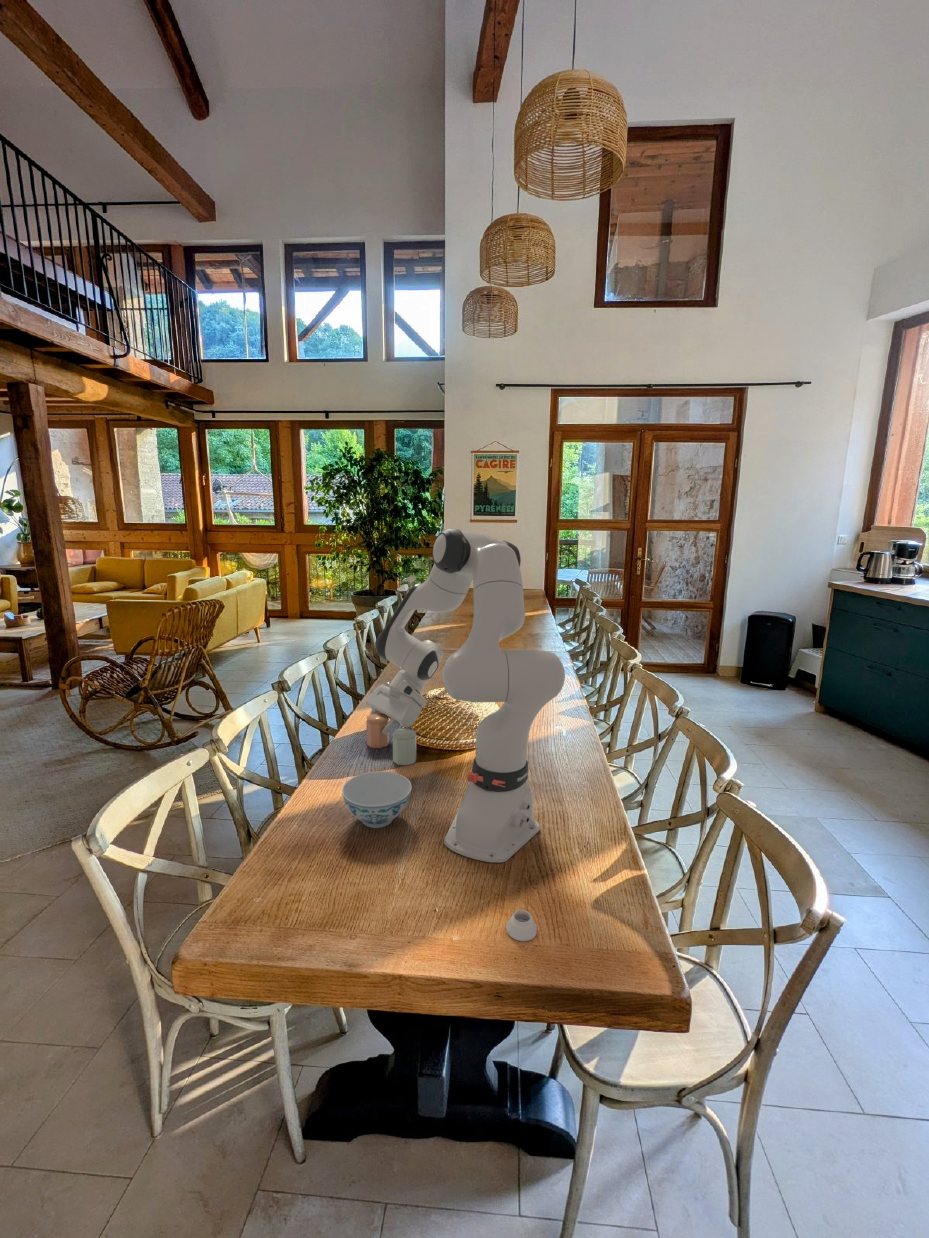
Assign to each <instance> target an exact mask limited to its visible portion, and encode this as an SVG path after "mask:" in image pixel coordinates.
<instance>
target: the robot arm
mask: <svg viewBox="0 0 929 1238" xmlns="http://www.w3.org/2000/svg"><path fill="white" fill-rule="evenodd" d="M521 559H522V558H521V554H520V550H519V548H518V547H517V546H516V545H515V544H513V543H511V542H509V541H507V540H501V539H498V538H495V537H493V536H490V535H486V534H483V533H480V532H474V531H467V530H460V528H459V529H458V528H446V529H443V530H442V531H441V532H440V533H439V534H438V535H437V537H436V538H435V540H434V543H433V547H432V561H433V566H432V567H431V569H430V571H429V574H428V577H427V579H426V580H425V581H424V582H423V583H419V582H418V583H416V584H414V585H413V586H412V587H411V588H410V589H409V591H408V592H407V593H406V594H405V595H404V598H403V599H402V600H401V601H400V603H399V605H398V606H397V608H396V609H395V611H394V613H393V615H392V616H391V618H390V619H389V621H388V622H387V624H386V625H385V627H384V628H383V629H382V631H381V632H380V633H379V634H378V636H377V638H376V640H375V642H374V646H375V651H376V653H377V656H378V657H380V658H381V659H383V660H385V661H388V662H390V663H391V664H393V665H395V666H396V667H398V668H399V669H400V670H399V671H398V672H397V673H396V674H395V676H394V678H393V679H392V680H391V682H389V681H388V682H387V681H386V682H384V683H381V684H380V685H379V686H376V688H375V689H374V690H373V691H372V692H371V693H370V695H369V696H368V697H367V698H366V700H365V705H366V706H367V707H368V708H370V710H371V711H370V712H369V713H370V714H369V715H371V714H385V715H387V716H388V719H389V724H387V725H386V726H383V727H382V729H381V730H380V731H381V732H382V733H383V734H385V735H387V734H388V732H389V733H390V731H391V730H393V729H395V728H396V727H397V726H398V724H399V726H400V725H401V726H402V727H403V728H410V727H411V726H413V725H414V724H415V722H416V721H417V719H418V717H419V716H420V715H421V712H422V708H425V707H426V706H427V704H428V702H427V700H426V699H425V697H424V696H423V695H422V694H421V693H422V691H423V690H424V687H425V684H426V683H427V682H428V681H429V680H430V679H431V678H433V676H434V674H435V673H436V672H437V670H438V668H439V665H440V664H441V661H442V659H443V657H444V651H443V650H442V648H441V647H440V646H439V644H437V643H435V642H434V641H431V640H430V639H426V640H425V639H424V640H423V641H421V640H420V639H419V638H416V637H415V636H413V635H412V634H410V633H408V631H407V630H406V629H405V628H406V625H407V624H408V622H409V621H410V619H411V618H412V616H413V615H414V613H415V611H417V610H418V611H419V610H420V611H421V610H422V611H427V612H431V613H437V614H440V613H442V614H443V613H449V612H452V611H455V610H456V609H458V608H459V607H461V604H463V601H464V600H465V598H467V597H466V596H467V594H468V592H469V589H470V587H471V586H472V589H473V593H472V594H473V619H472V627H471V630H470V632H469V635H468V637H467V639H466V640H465V641H464V643H463V644H462V645H461V647H460V648H458V649H457V650H456V651H455V652H453V653H452V654H451V655H449V657H448V658H447V660H446V662H445V663H444V665H443V669H442V672H441V674H442V675H441V677H442V678H441V679H442V684H443V687H444V689H445V691H446V693H447V694H448V696H449V697H451V699H453V700H459V701H462V702H468V703H502V705H501V706H500V707H499V708H498V709H497V710H496V711H494V712H493V713H490V714H488V715H487V716H485V717H484V718H483V719H482V720H481V721H480V722H479V724H478V726H477V727H476V730H475V756H474V758H473V762H472V767H471V771H469V772H468V773H467V777H466V779H467V780H466V781H467V782H468V784H467V787H466V790H465V792H464V795H463V797H462V799H461V803H460V805H459V808H458V810H457V813H456V814H455V816H454V818H453V821H452V822H451V825H450V827H449V829H448V831H447V833H446V834H445V837H444V840H443V844H444V846H446V847H447V848H448V849H449V850H450V851H452V852H454V853H457V854H459V855H461V856H462V857H463V856H464V857H467V858H468V859H469V858H470V859H473V860H476V861H481V862H487V863H506V862H507V861H509V859H511V857H512V856H515V854H516V853H517V852H518V851H519V850H520V849H521V848H523V847H524V846H525V845H526V844H527V843H528V842H529V841H531V839H532V838H533V837H535V835H536V834H537V833H538V832H540V829H541V825H540V823H539V822H537V820H535V817H534V816H535V814H534V811H535V810H534V808H535V807H534V804H535V803H534V791H533V790H532V788H531V786H530V785H529V782H528V778H529V762H528V760H527V752H528V745H529V744H528V742H529V734H530V730H531V727H532V725H533V723H534V720H535V718H536V717H537V716H538V714H539V712H541V710H542V709H543V708H544V706H546V705H547V704H548V703H549V702H551V701H552V700H553V699H555V698H556V697H557V696H558V695H559V694H560V693H561V691H562V689H563V687H564V685H565V680H566V671H565V667H564V664H563V663H562V661H561V660H560V658H559V657H558V655H557V654H555V653H553V652H549V651H544V650H539V649H503V648H501V647H500V642H501V641H502V640H504V639H506V638H508V637H511V636H512V635H514V634H515V633H517V632H518V631H519V630H521V628H522V627H523V625H524V623H525V620H526V609H525V608H526V607H525V597H524V585H523V579H522V573H521V568H520V567H521V561H522V560H521Z"/></svg>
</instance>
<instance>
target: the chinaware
mask: <svg viewBox="0 0 929 1238" xmlns="http://www.w3.org/2000/svg"><path fill="white" fill-rule="evenodd" d="M412 789H413V787H412V782H411V781H410V780H409V779H408V778H407V777H406V776H403V774H399V773H397V772H393V771H383V770H382V771H370V772H365V773H361V774H358V775H355V776H354V777H351V778H350V779H349V780H347V781H346V782H345V783H344V784H343V786H342V790H341V793H342V798H343V801H344V804H345V806H346V808H347V810H348V811H349V813H350V814H352V816H353V817H355V819H357V820H359V821H361V822H362V824H363V825H365V826H366V827H369V828H373V829H379V828H384V827H386V826H389V825H390V824H391V823H393V821H394V819H395V818H397V817H398V816H399V815H400V814H401V813H402V812H404V810H405V808H406V806H407V804H408V803H409V801H410V798H411V793H412Z"/></svg>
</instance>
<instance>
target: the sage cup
mask: <svg viewBox="0 0 929 1238" xmlns="http://www.w3.org/2000/svg"><path fill="white" fill-rule="evenodd" d="M416 761H417V731H416V730H415V729H412V728H410V727H408V728H406V727H401V728H398V729H395V730H394V731H393V734H392V762H393V763H394V764H396V765H398V766H410V765H413V764H415V763H416Z"/></svg>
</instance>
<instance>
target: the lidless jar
mask: <svg viewBox="0 0 929 1238" xmlns="http://www.w3.org/2000/svg"><path fill="white" fill-rule="evenodd" d="M505 930H506V932H507V934H508V936H510V937H511V939H513V940H516V941H519V942H520V941H521V942H528V941H531V940H533V939H534V938H535V937H536V936H537V934H538V932H537V931H538V926H537V924H536V923H535V920H534V919H533V917H532V914H531V913H530V912H529V911H527V910H526V909H518V910H515V911H513V914H512V915H511V916H510V918H509V920H508V921H507V923H506V929H505Z"/></svg>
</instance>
